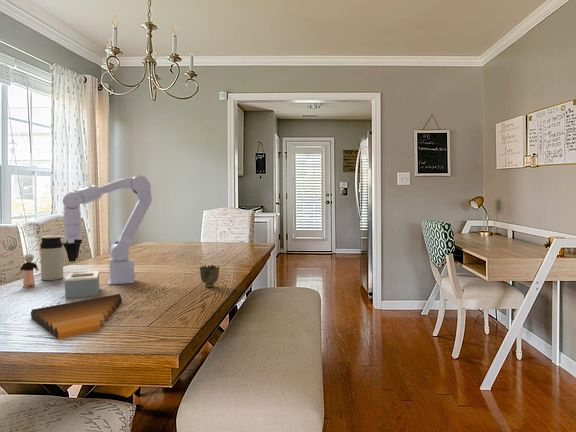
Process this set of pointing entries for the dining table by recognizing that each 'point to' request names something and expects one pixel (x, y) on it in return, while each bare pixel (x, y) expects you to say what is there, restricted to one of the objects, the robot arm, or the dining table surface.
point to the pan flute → (76, 316)
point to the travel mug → (51, 257)
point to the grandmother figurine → (28, 271)
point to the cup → (209, 275)
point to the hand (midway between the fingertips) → (73, 259)
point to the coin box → (82, 284)
